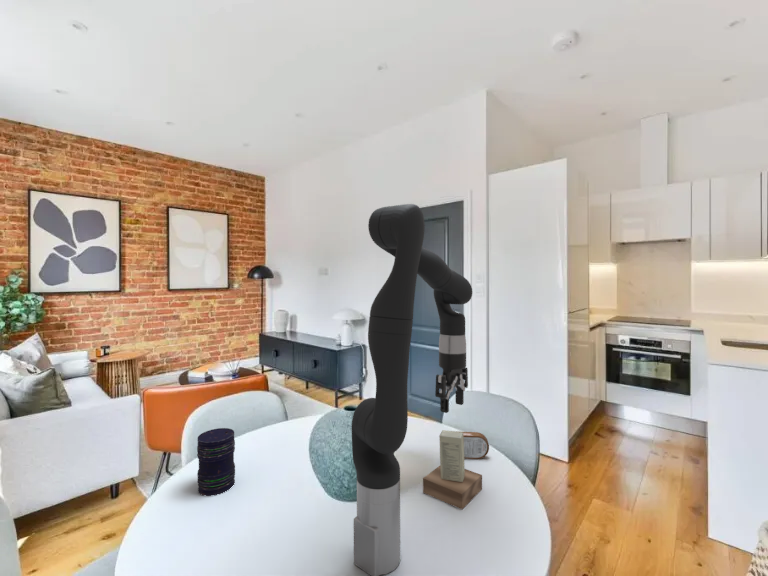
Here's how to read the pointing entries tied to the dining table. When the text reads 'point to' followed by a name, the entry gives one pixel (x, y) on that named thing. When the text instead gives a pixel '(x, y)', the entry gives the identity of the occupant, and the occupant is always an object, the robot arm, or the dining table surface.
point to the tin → (475, 445)
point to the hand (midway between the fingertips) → (452, 407)
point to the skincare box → (452, 455)
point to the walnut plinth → (453, 488)
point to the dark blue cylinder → (216, 461)
